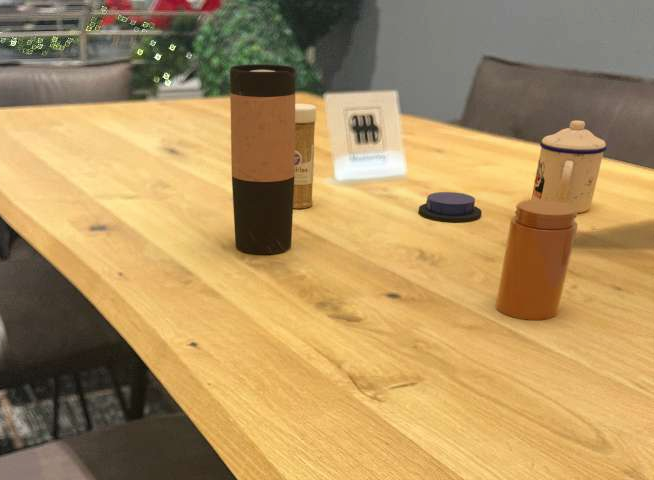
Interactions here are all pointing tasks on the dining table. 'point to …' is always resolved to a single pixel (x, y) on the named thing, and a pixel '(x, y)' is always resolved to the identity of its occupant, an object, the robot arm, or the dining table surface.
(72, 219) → the dining table surface
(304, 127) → the sprinkles bottle
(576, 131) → the teacup with lid
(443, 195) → the lid
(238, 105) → the travel mug
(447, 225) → the dining table surface
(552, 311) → the jar
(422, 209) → the coaster
